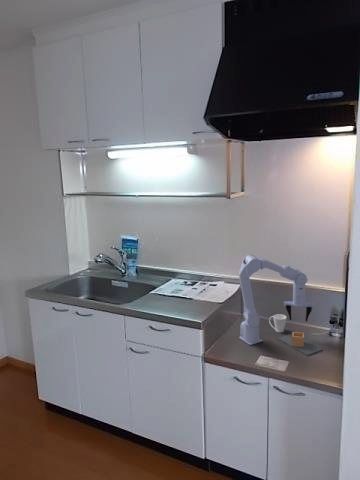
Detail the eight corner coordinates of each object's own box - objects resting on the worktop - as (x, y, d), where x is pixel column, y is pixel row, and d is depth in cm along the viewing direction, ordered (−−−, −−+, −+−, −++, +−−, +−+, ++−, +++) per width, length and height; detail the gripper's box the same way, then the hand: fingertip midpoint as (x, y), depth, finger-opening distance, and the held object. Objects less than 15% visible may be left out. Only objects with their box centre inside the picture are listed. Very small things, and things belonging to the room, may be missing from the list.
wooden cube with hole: (292, 346, 184) (292, 336, 183) (292, 340, 189) (292, 331, 188) (303, 347, 182) (304, 337, 181) (303, 341, 187) (303, 332, 186)
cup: (282, 334, 197) (282, 320, 195) (265, 329, 204) (265, 315, 202) (289, 330, 202) (289, 316, 200) (272, 325, 209) (272, 311, 207)
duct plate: (277, 339, 193) (277, 333, 192) (292, 334, 197) (292, 328, 197) (307, 356, 175) (307, 349, 175) (322, 350, 180) (322, 344, 179)
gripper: (314, 293, 191) (313, 318, 193) (284, 291, 195) (283, 315, 198) (314, 297, 184) (313, 323, 187) (283, 296, 188) (283, 321, 191)
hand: (298, 320), depth 192 cm, fingers open, 7 cm apart
